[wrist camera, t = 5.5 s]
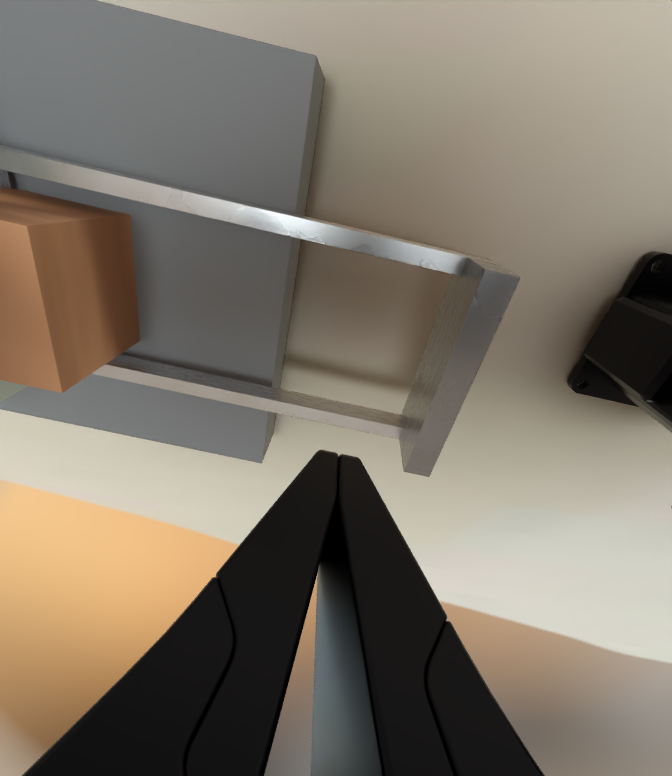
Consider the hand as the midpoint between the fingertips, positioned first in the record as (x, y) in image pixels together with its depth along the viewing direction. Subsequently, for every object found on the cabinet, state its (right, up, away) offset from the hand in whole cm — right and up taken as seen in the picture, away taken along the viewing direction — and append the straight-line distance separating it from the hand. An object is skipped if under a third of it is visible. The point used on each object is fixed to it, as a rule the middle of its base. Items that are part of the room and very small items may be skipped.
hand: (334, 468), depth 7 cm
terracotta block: (-10, +6, +7) cm, 13 cm away
